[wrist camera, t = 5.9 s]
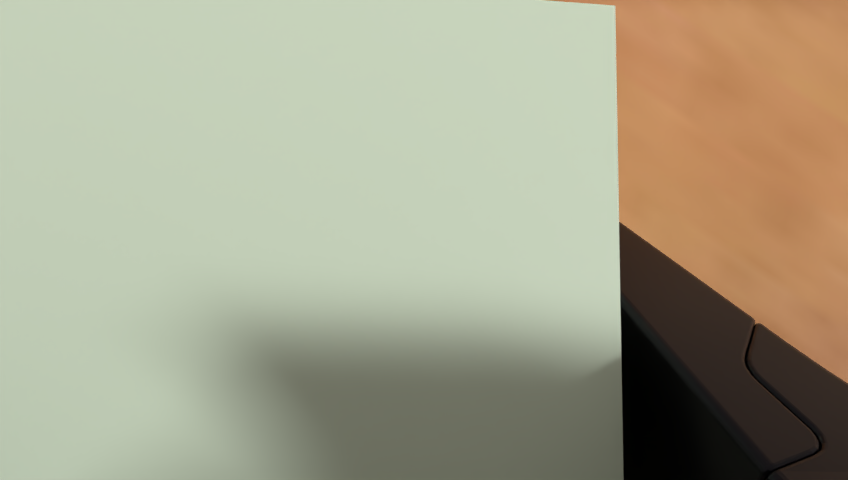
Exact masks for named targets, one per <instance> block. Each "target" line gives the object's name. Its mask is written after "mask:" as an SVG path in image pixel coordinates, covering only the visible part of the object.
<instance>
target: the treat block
mask: <svg viewBox="0 0 848 480" xmlns="http://www.w3.org/2000/svg"><path fill="white" fill-rule="evenodd" d="M0 480H624V476H623V420H622V363H621V307H620V250H619V194H618V137H617V80H616V24H615V6H613V5H599V4H585V3H572V2H558V1H545V0H0Z"/></svg>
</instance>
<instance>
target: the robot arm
mask: <svg viewBox="0 0 848 480" xmlns="http://www.w3.org/2000/svg"><path fill="white" fill-rule="evenodd" d="M619 250H620V307H621V363H622V420H623V476H624V480H848V383H846V382H845V381H843V380H842V379H840V378H839V377H837V376H835V375H834V374H832V373H831V372H829V371H828V370H826V369H825V368H823V367H822V366H820V365H819V364H817V363H816V362H814V361H813V360H812V359H810V358H809V357H807V356H806V355H804V354H803V353H801V352H800V351H799V350H797V349H796V348H794V347H793V346H791V345H790V344H788V343H787V342H786V341H784V340H783V339H781V338H780V337H779V336H777V335H776V334H775V333H773V332H772V331H770V330H769V329H768V328H766V327H765V326H764V325H762V324H760V323H757V324H755V320H754V319H753V318H752V317H751V316H749V315H748V314H747V313H745V312H744V311H742V310H741V309H740V308H738V307H737V306H735V305H734V304H733V303H731V302H730V301H729V300H727V299H726V298H724V297H723V296H722V295H720V294H719V293H717V292H716V291H715V290H713V289H712V288H710V287H709V286H708V285H706V284H705V283H704V282H702V281H701V280H699V279H698V278H697V277H695V276H694V275H692V274H691V273H690V272H688V271H687V270H686V269H684V268H683V267H681V266H680V265H679V264H677V263H676V262H674V261H673V260H672V259H670V258H669V257H667V256H666V255H665V254H663V253H662V252H661V251H659V250H658V249H656V248H655V247H654V246H652V245H651V244H649V243H648V242H647V241H645V240H644V239H642V238H641V237H640V236H638V235H637V234H636V233H634V232H633V231H631V230H630V229H629V228H627V227H626V226H624V225H623V224H622V223H620V222H619ZM754 325H755V326H754Z"/></svg>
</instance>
